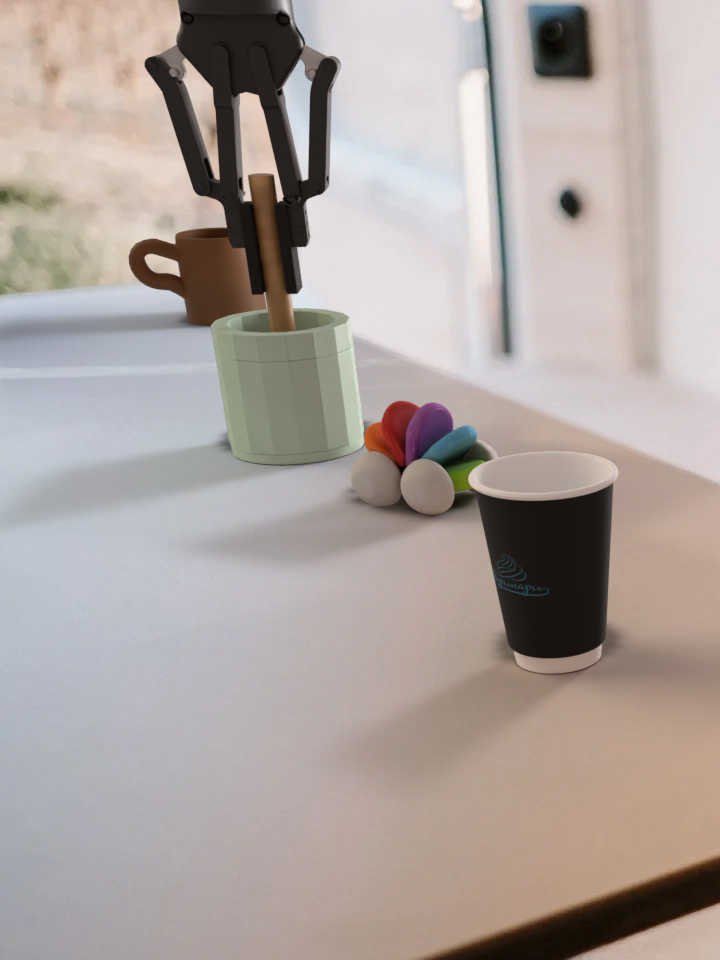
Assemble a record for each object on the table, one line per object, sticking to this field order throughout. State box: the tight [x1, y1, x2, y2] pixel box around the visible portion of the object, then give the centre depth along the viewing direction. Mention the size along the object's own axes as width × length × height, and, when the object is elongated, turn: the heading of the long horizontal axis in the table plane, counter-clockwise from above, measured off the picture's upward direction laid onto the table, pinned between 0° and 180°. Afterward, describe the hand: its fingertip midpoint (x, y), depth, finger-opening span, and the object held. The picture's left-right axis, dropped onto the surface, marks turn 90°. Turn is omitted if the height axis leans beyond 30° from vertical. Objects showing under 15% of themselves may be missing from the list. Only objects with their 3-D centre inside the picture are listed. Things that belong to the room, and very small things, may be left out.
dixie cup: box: [468, 450, 619, 675], centre depth 90 cm, size 8×8×11 cm
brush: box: [247, 172, 296, 332], centre depth 122 cm, size 4×4×16 cm
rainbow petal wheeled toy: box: [350, 400, 499, 516], centre depth 115 cm, size 8×10×7 cm
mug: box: [128, 226, 267, 327], centre depth 163 cm, size 12×8×9 cm, turn 119°
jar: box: [210, 307, 365, 466], centre depth 126 cm, size 10×10×10 cm
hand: (277, 290), depth 123 cm, fingers closed on brush, 2 cm apart
